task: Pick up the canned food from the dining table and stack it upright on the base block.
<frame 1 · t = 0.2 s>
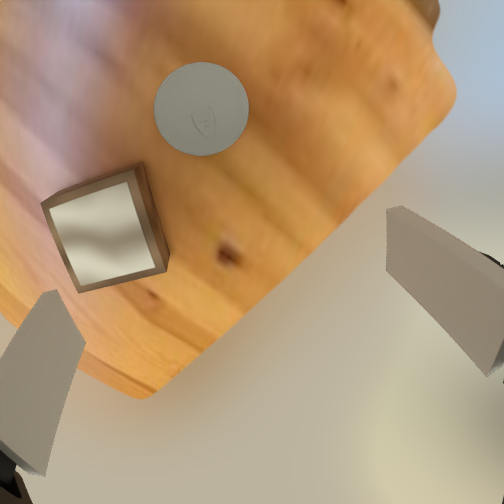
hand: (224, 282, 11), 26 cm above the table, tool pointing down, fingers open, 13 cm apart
base block: (112, 222, 36), on the table
canned food: (201, 111, 32), on the table
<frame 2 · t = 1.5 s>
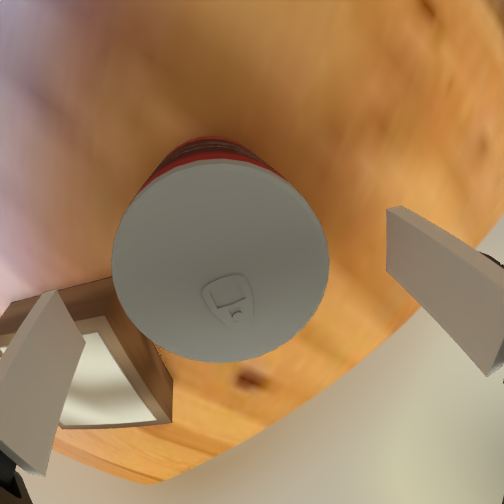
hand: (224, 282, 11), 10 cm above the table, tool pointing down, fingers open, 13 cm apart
base block: (89, 345, 24), on the table
canned food: (211, 194, 20), on the table
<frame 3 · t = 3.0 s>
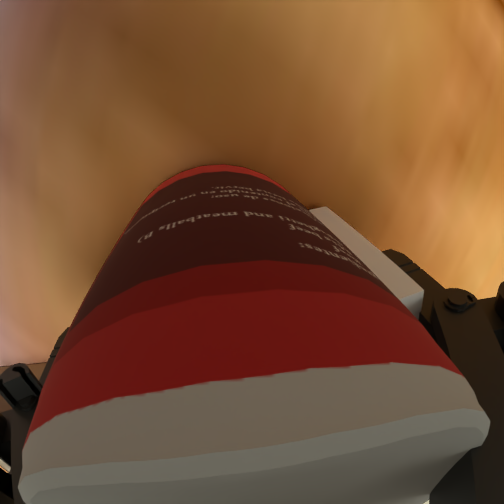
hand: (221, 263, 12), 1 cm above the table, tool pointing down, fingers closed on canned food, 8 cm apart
base block: (70, 422, 17), on the table
canned food: (220, 253, 13), on the table, touching gripper
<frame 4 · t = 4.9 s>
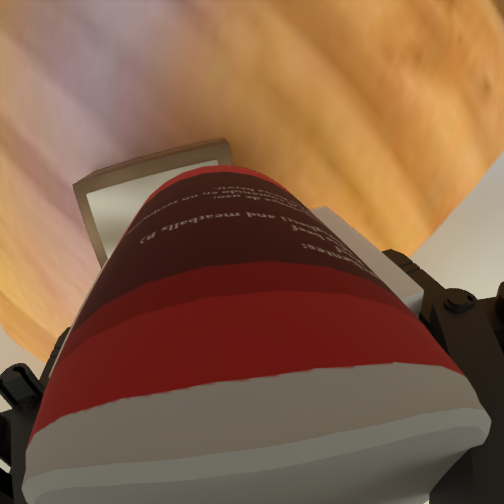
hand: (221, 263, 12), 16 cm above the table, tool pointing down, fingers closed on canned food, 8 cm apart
base block: (171, 217, 27), on the table
canned food: (221, 253, 13), point 15 cm above the table, touching gripper
when the fingers open (7 cm above the table, at t = 7.1 s): canned food drops 1 cm, resting on base block.
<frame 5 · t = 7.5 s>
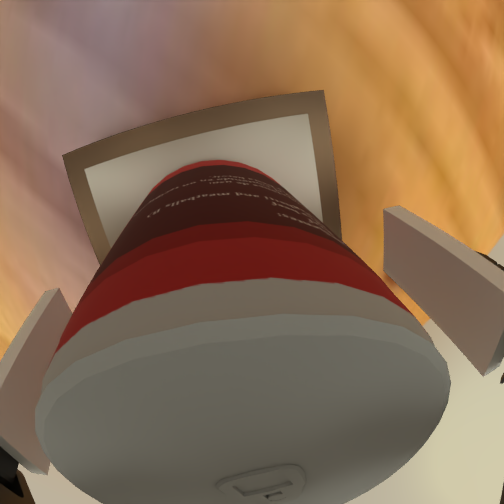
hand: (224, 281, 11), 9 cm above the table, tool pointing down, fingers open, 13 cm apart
base block: (214, 210, 19), on the table
canned food: (218, 242, 14), point 5 cm above the table, touching base block
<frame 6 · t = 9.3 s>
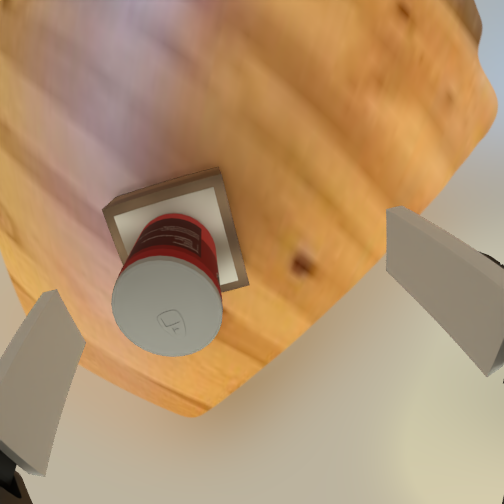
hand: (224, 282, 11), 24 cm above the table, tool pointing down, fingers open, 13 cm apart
base block: (180, 231, 34), on the table
canned food: (177, 249, 30), point 5 cm above the table, touching base block
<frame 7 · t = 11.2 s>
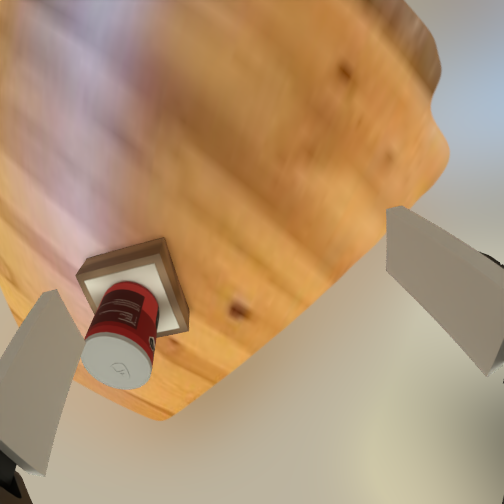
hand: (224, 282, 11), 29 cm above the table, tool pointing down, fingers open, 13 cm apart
base block: (138, 285, 42), on the table
canned food: (131, 305, 38), point 5 cm above the table, touching base block
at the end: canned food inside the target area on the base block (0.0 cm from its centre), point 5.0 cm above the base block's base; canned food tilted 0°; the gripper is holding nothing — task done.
